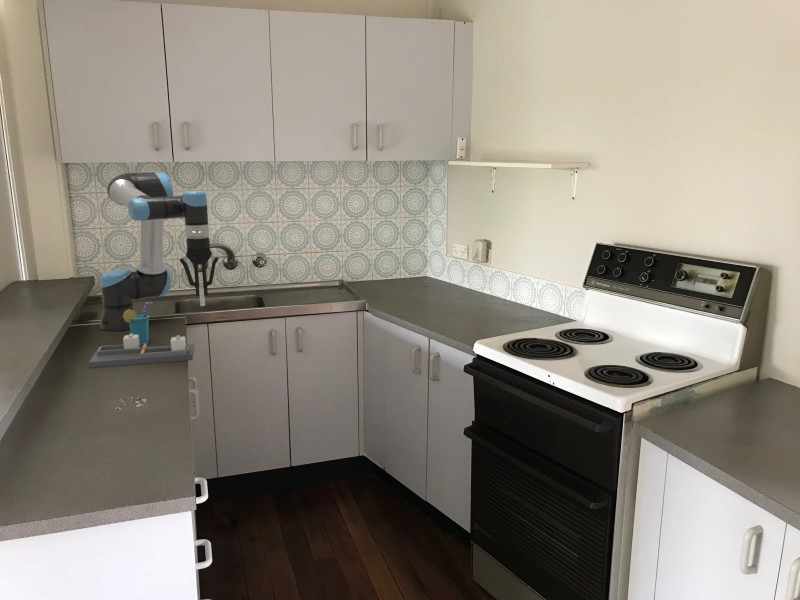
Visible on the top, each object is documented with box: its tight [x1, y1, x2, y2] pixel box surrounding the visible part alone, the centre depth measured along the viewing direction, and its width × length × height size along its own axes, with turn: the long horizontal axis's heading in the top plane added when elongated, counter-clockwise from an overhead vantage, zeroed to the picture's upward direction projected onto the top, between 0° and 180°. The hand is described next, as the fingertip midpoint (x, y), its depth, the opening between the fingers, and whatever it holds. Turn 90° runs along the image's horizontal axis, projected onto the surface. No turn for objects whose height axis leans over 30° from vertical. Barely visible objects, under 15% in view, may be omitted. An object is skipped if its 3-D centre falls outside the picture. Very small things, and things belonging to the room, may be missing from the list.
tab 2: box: [170, 334, 187, 351], centre depth 233 cm, size 4×4×6 cm
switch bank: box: [88, 343, 196, 369], centre depth 234 cm, size 14×33×4 cm, turn 104°
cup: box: [123, 301, 154, 345], centre depth 251 cm, size 14×8×15 cm, turn 157°
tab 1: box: [122, 332, 140, 349], centre depth 236 cm, size 4×4×6 cm
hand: (202, 305), depth 232 cm, fingers closed
